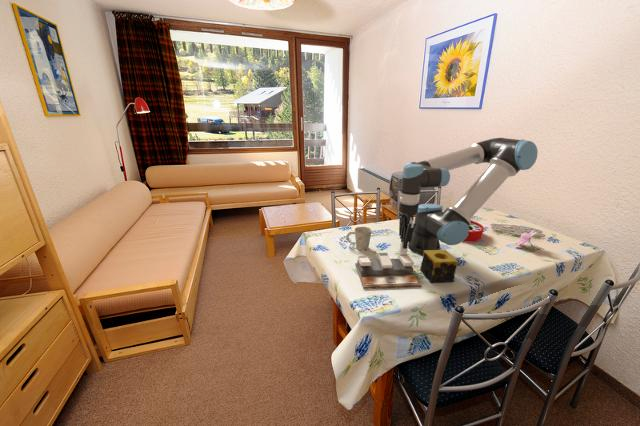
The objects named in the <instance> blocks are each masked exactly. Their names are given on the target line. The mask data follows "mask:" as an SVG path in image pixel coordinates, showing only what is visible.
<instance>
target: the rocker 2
mask: <svg viewBox="0 0 640 426" xmlns="http://www.w3.org/2000/svg"><path fill="white" fill-rule="evenodd" d="M397 259H400V261H401V263H402V264H403V265H404V266H412V267H414V265H415V262H414V260H413V259H412V258H411V257H410V255H409V253H407V255H400V253H398V254H397Z"/></svg>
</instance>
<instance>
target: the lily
mask: <svg viewBox="0 0 640 426" xmlns="http://www.w3.org/2000/svg"><path fill="white" fill-rule="evenodd" d="M534 231H535V229H533V230H532V231H530V232H529V233H527V232H523V233H521V235H520V239H519V240H518V241H516V242H515V244H516V245H515V246H514V249H516V248H517V247H519V246H520V245H521V244H526V245H527V244H528V243H529V244H530V245H531V247H532V249H535V248H534V246H533V244H532V243H531V238H532V237H533V236H535V235H536V234H537V232H536V231H535V232H534Z"/></svg>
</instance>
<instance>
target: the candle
mask: <svg viewBox="0 0 640 426" xmlns="http://www.w3.org/2000/svg"><path fill="white" fill-rule="evenodd" d="M457 267H458V259H456V258H455V257H454V256H453V255H452V254H450V252H448V251H447V250H446V249H440V250H424V251H423V254H422V260H421V263H420V269H419V271H420V272H421V273H422V274H423V276H424V277H425V278H426V279H427V280H428V282H429V283H430V284H442V283H454V282H455V277H456V276H455V274H456V270H457Z"/></svg>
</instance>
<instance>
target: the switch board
mask: <svg viewBox="0 0 640 426" xmlns="http://www.w3.org/2000/svg"><path fill="white" fill-rule="evenodd" d="M369 260H370V261H371V266H361V265H360V263H359V261H358V259H357V262H355V263H354V264H355V268H356V271H357V273H358V277H359V280H360V283H361V286H362V289H363V290H372V289H377V290H378V289H397V288H398V289H400V288H403V289H405V288H419V287H420V288H422V284H421V282H420V281H419V279H418V278H417V275H415V273H414V270H415V269H414V268H413V267H414V266H404V265H403V264H402V263H401V261H400V259H399V258H390V260H391V263H392V268H382V266H381V263H380V260H379V258H377V259H369Z"/></svg>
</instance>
